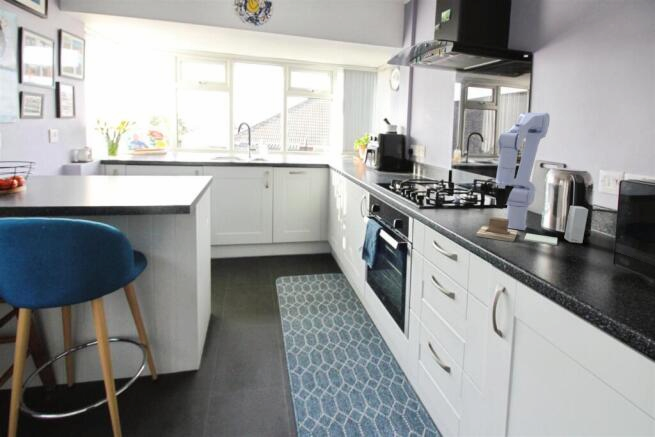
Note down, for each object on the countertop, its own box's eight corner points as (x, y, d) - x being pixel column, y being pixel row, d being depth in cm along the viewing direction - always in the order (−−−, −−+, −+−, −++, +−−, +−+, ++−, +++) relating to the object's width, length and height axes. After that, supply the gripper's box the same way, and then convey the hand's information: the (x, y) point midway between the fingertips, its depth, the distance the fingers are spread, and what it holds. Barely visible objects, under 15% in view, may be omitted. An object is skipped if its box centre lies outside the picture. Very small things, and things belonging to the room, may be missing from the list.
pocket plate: (482, 228, 166) (483, 225, 166) (517, 234, 161) (517, 230, 160) (476, 236, 154) (476, 232, 154) (513, 241, 149) (513, 238, 148)
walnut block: (489, 232, 160) (491, 216, 159) (506, 235, 158) (509, 219, 156) (487, 234, 157) (489, 218, 156) (505, 237, 154) (507, 220, 153)
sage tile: (526, 234, 160) (526, 233, 160) (557, 239, 156) (557, 237, 156) (524, 240, 152) (524, 238, 151) (556, 245, 147) (556, 243, 147)
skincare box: (582, 243, 152) (588, 209, 150) (569, 242, 153) (575, 208, 150) (576, 239, 158) (582, 206, 155) (563, 238, 159) (569, 205, 156)
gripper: (497, 165, 161) (492, 202, 163) (491, 168, 148) (485, 208, 151) (517, 167, 157) (512, 205, 160) (513, 170, 145) (508, 211, 148)
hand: (501, 206), depth 155 cm, fingers open, 7 cm apart
